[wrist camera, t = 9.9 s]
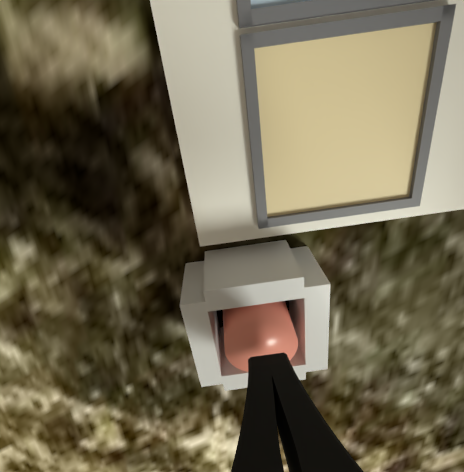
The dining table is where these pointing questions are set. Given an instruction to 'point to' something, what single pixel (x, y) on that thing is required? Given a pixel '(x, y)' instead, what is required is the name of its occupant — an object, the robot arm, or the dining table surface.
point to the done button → (258, 332)
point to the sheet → (314, 111)
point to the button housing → (254, 293)
